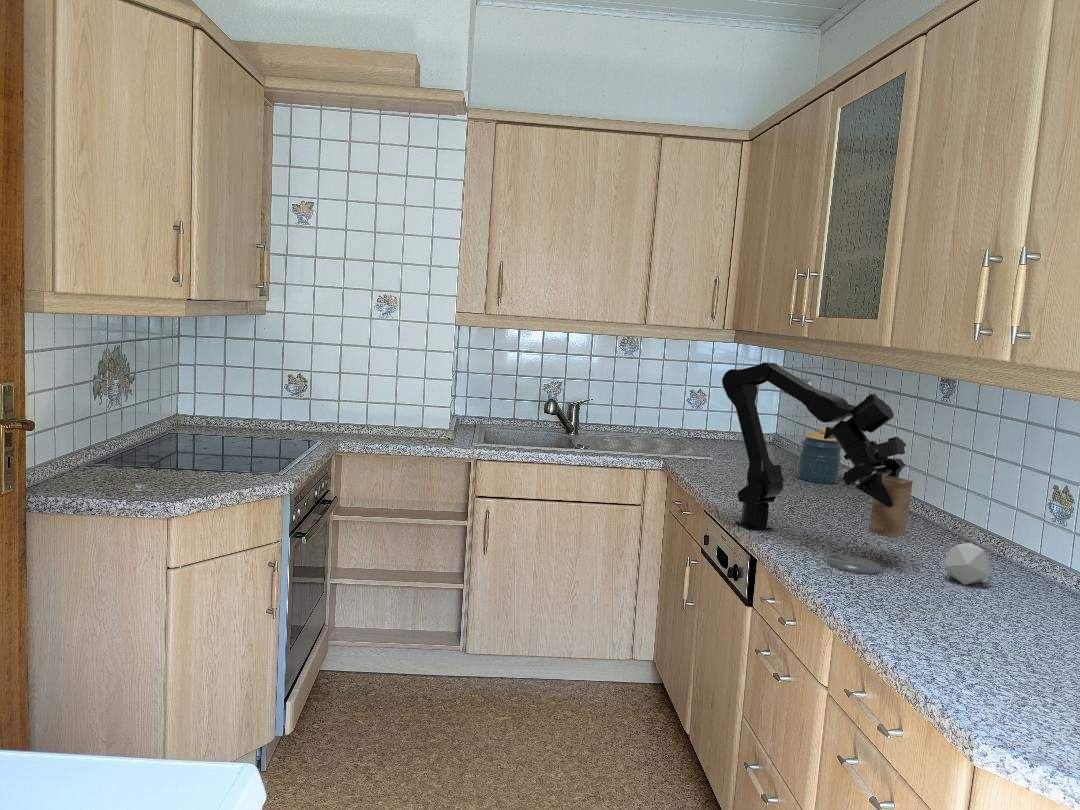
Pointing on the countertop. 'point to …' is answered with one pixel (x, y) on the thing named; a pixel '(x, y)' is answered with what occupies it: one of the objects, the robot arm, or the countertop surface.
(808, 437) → the canister
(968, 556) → the die
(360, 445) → the countertop surface
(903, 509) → the walnut block
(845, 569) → the slate coaster
